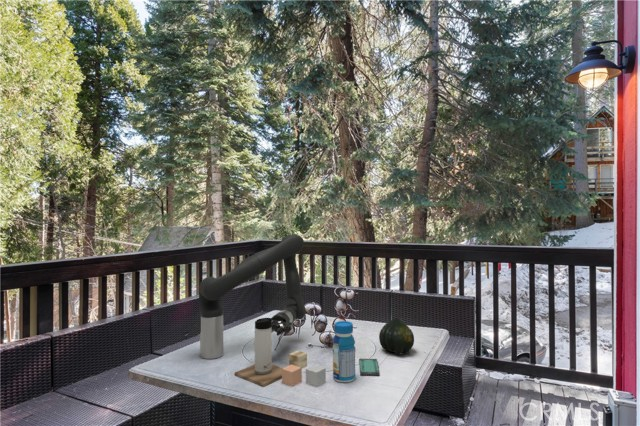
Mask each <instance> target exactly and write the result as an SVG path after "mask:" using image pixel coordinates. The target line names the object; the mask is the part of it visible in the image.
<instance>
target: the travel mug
mask: <svg viewBox="0 0 640 426" xmlns="http://www.w3.org/2000/svg"><path fill="white" fill-rule="evenodd" d="M271 321H272V317H261V318H258V319H256V320H254V364H255V373H257V374H260V375H265V374H268V373H270V372H271V371H272V365H273V364H272V362H273V361H272V355H273V354H272V353H273V351H272V345H273V344H272V342H273V341H272V334H273V333H272V329H271V328H272V327H271Z"/></svg>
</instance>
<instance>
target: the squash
mask: <svg viewBox="0 0 640 426" xmlns="http://www.w3.org/2000/svg"><path fill="white" fill-rule="evenodd" d="M378 340H379V344H380V346H381V348H382V349H383V350H384V351H387V352H392V353H393V352H394V354H395V355H397V356H400V355H402V354H404V355H405V354H408V353H409V352H410V350H411V349H412V348H413V346H414V344H415V336H414V332H413V331H412V329H411V328H410V327H409V326H408V325H407V324H406V323H405V322H404V321H403V319H401V318H400V317H399V316H397V317H394V318H392V319H391V320H390V321H387V322H386V323H385V324H384V325H383V326H382V328H381V329H380V331H379V334H378Z"/></svg>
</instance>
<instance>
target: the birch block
mask: <svg viewBox="0 0 640 426" xmlns="http://www.w3.org/2000/svg"><path fill="white" fill-rule="evenodd" d="M288 363H289V364H288V366H289V365H291V364H292V365H295V366H298V367H301V368H302V369H303V368H305V367H308V353H307V352H305V351H301V350H295V351H293V352H291V353H289V354H288Z"/></svg>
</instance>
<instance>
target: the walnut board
mask: <svg viewBox="0 0 640 426" xmlns="http://www.w3.org/2000/svg"><path fill="white" fill-rule="evenodd" d="M282 368H283V367H281V366H278V365H276V364H275V365H274V364H272V371H271V372H270V373H268V374H265V375H260V374H257V373H255V363H254V364H252V365H249V366H247V367H245V368H242V369H239V370H237V371H235V372H234V376H235V377H238V378H240V379H243V380H246V381H248V382H250V383H253V384H255V385H257V386H260V387H263V388H264V387H267V386H269V385H270V384H273V383H275V382H277V381H279V380H282Z"/></svg>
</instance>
